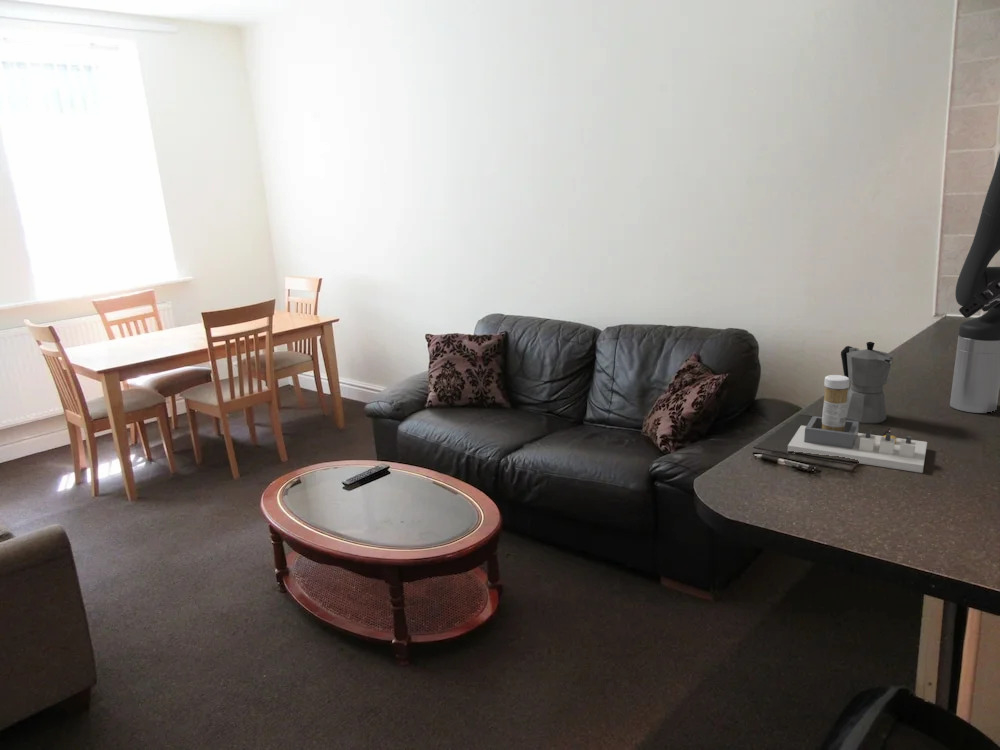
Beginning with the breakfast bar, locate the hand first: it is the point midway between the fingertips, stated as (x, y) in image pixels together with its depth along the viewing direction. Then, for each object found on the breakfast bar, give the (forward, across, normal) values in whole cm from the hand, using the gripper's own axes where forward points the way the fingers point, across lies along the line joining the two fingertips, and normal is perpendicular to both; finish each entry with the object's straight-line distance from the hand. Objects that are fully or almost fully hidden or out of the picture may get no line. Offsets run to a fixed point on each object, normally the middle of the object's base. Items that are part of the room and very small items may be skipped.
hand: (972, 310), depth 133 cm
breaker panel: (+30, +13, +11) cm, 34 cm away
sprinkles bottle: (+32, +14, +7) cm, 35 cm away
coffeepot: (+37, -9, +4) cm, 38 cm away
